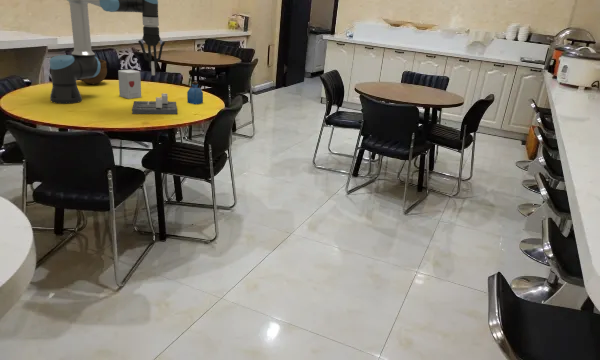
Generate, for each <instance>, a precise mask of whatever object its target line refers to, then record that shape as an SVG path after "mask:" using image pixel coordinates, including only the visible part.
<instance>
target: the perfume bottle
mask: <svg viewBox="0 0 600 360" xmlns="http://www.w3.org/2000/svg"><path fill="white" fill-rule="evenodd" d="M191 83H192V84H191V87H190V88H189V89H188V90H187V92H186V93H187V94H186V95H187V96H186V97H187V101H186V102H187V104H192V105H200V104H203V103H204V92H203V90H202V89H201V87H199V84H198V83H199V82H198V81H192V82H191Z"/></svg>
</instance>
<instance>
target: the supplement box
mask: <svg viewBox="0 0 600 360" xmlns="http://www.w3.org/2000/svg"><path fill="white" fill-rule="evenodd" d="M117 72H118V73H117V74H118V90H119V97H122V98H125V99H127V100H129V99H138V98H142V81H141V71H139V70H134V69H121V70H118V71H117Z"/></svg>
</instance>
